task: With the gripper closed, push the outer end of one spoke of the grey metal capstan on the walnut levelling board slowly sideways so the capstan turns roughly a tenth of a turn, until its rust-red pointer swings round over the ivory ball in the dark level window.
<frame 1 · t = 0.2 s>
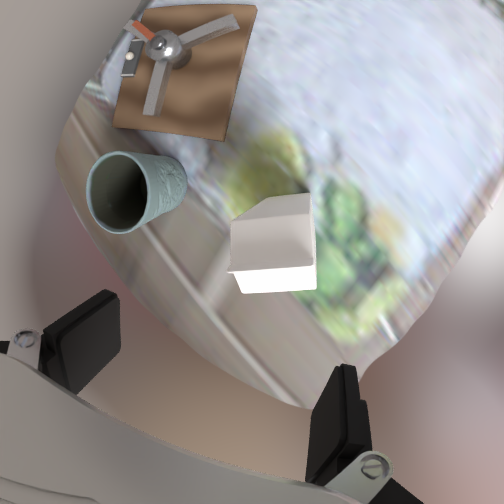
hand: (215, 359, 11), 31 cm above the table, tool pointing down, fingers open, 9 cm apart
levelling board: (181, 65, 36), on the table
level window: (133, 57, 35), on the levelling board, point 2 cm above the table
capstan: (163, 62, 32), point 5 cm above the table, hinge at 0.0°
grey-green cup: (162, 184, 42), on the table
milk: (291, 215, 40), on the table
level ball: (129, 55, 34), on the level window, point 2 cm above the table
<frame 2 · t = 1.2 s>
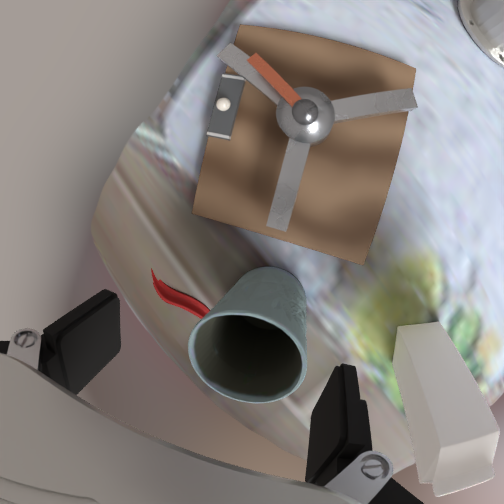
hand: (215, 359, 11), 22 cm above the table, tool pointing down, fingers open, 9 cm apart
cayenne pepper: (183, 297, 37), on the table
levelling board: (305, 135, 28), on the table
level window: (226, 106, 27), on the levelling board, point 2 cm above the table
capstan: (300, 141, 23), point 5 cm above the table, hinge at 0.0°
grey-green cup: (268, 300, 34), on the table
milk: (415, 342, 32), on the table
level ball: (223, 104, 26), on the level window, point 2 cm above the table
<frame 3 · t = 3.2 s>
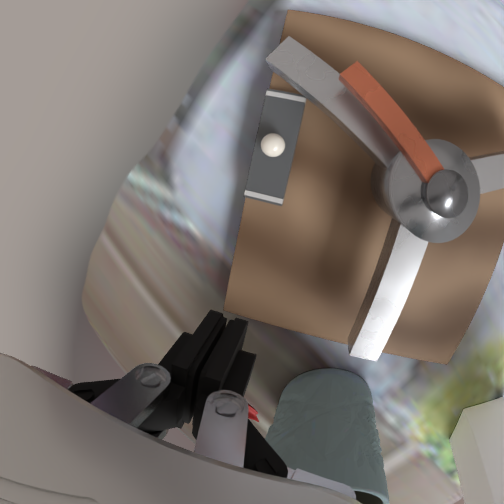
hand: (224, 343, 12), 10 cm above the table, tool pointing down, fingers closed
levelling board: (393, 195, 18), on the table
level window: (275, 146, 17), on the levelling board, point 2 cm above the table
capstan: (412, 226, 13), point 5 cm above the table, hinge at 0.0°
grey-green cup: (323, 400, 24), on the table
milk: (475, 418, 21), on the table
level ball: (272, 145, 16), on the level window, point 2 cm above the table
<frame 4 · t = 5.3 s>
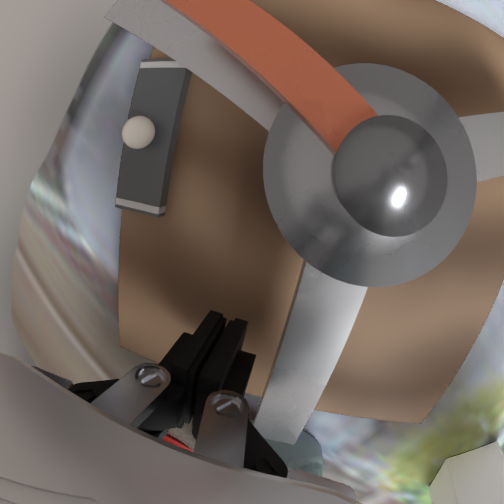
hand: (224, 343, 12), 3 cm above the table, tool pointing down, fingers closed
levelling board: (336, 193, 12), on the table
level window: (150, 134, 11), on the levelling board, point 2 cm above the table
capstan: (342, 247, 8), point 5 cm above the table, hinge at 0.2°, touching gripper
grey-green cup: (263, 451, 18), on the table
milk: (462, 464, 16), on the table
level ball: (138, 132, 10), on the level window, point 2 cm above the table
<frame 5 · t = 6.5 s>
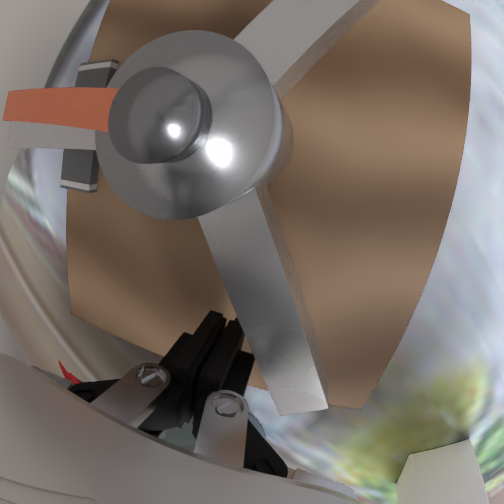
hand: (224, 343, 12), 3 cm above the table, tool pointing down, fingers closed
levelling board: (242, 163, 13), on the table
level window: (85, 124, 12), on the levelling board, point 2 cm above the table
capstan: (230, 195, 8), point 5 cm above the table, hinge at 31.8°, touching gripper
grey-green cup: (210, 429, 19), on the table
milk: (431, 462, 17), on the table
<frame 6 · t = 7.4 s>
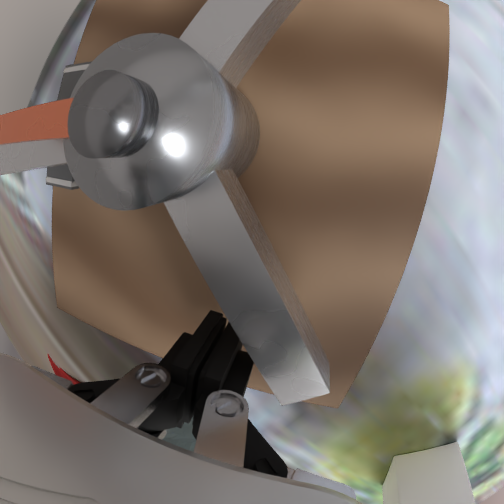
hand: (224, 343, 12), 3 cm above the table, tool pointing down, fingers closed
cayenne pepper: (93, 389, 22), on the table
levelling board: (215, 159, 13), on the table
level window: (68, 124, 12), on the levelling board, point 2 cm above the table
capstan: (196, 184, 8), point 5 cm above the table, hinge at 39.9°, touching gripper
grey-green cup: (192, 424, 19), on the table
milk: (418, 464, 17), on the table
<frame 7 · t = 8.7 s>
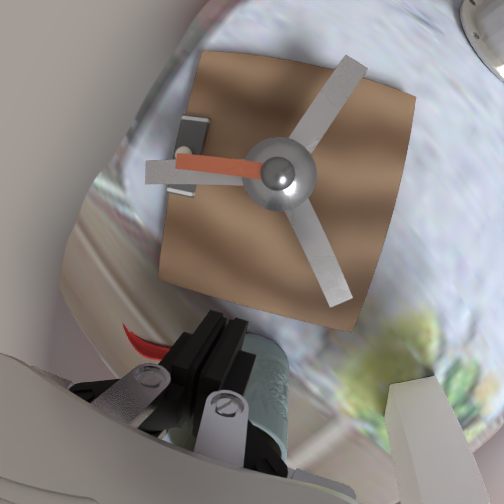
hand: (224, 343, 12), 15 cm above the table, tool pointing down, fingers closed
cayenne pepper: (163, 349, 32), on the table
levelling board: (283, 186, 25), on the table
level window: (187, 155, 23), on the levelling board, point 2 cm above the table
capstan: (295, 201, 20), point 5 cm above the table, hinge at 40.1°
grey-green cup: (248, 365, 30), on the table
milk: (408, 396, 28), on the table
level ball: (183, 154, 23), on the level window, point 2 cm above the table
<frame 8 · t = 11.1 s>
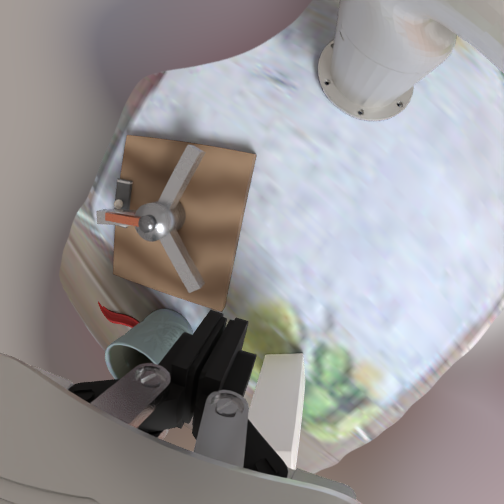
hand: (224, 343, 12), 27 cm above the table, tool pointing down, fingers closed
cayenne pepper: (122, 317, 49), on the table
levelling board: (175, 219, 40), on the table
level window: (122, 203, 39), on the levelling board, point 2 cm above the table
capstan: (166, 234, 36), point 5 cm above the table, hinge at 40.1°
grey-green cup: (169, 331, 47), on the table
milk: (286, 367, 44), on the table
level ball: (118, 204, 39), on the level window, point 2 cm above the table
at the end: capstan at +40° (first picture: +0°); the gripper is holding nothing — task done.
